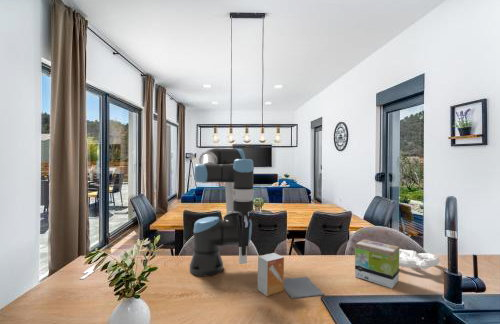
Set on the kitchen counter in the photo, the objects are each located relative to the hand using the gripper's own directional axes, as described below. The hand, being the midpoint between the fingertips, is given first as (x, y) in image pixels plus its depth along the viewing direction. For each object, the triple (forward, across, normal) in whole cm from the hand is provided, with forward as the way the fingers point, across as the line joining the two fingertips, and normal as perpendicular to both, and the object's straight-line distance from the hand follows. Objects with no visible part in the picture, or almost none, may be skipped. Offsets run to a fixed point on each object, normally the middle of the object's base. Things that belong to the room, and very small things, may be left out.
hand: (242, 262), depth 97 cm
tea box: (+12, 0, +58) cm, 59 cm away
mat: (+11, 0, +23) cm, 26 cm away
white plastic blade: (+12, -33, -64) cm, 73 cm away
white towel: (+12, -11, +82) cm, 84 cm away
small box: (+12, 0, +11) cm, 16 cm away
